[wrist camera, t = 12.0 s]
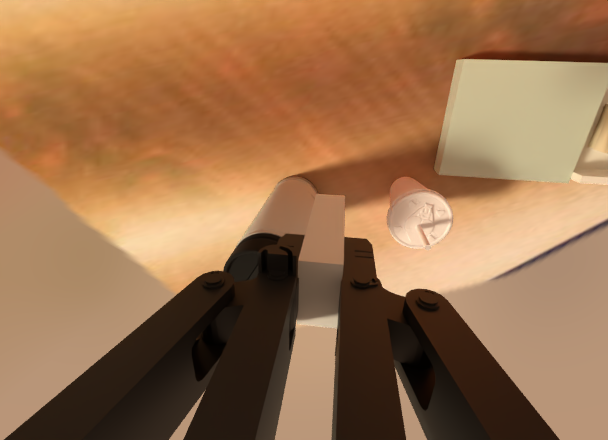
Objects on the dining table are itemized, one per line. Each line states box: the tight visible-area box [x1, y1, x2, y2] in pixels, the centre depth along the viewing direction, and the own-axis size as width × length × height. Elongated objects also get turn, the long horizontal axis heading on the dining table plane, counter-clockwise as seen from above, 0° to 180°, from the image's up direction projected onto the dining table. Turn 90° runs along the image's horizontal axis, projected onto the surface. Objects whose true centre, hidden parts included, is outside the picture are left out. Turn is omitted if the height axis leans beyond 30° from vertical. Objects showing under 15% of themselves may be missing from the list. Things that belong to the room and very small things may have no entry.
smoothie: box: [387, 177, 453, 250], centre depth 34 cm, size 6×6×14 cm
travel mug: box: [224, 176, 318, 282], centre depth 33 cm, size 6×7×20 cm
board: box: [434, 59, 608, 183], centre depth 34 cm, size 12×14×2 cm
